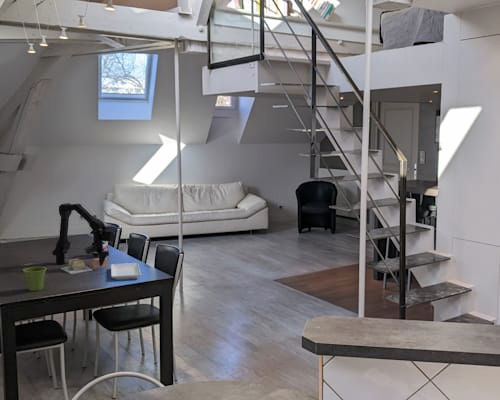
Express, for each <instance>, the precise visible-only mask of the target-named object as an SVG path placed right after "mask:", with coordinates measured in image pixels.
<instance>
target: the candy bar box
mask: <svg viewBox="0 0 500 400" xmlns="http://www.w3.org/2000/svg"><path fill="white" fill-rule="evenodd" d="M103 242H104V244H103V249H104V250H106V251H108V252H109V241H103ZM104 250H103V251H104Z"/></svg>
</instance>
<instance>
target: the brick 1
mask: <svg viewBox="0 0 500 400" xmlns="http://www.w3.org/2000/svg"><path fill="white" fill-rule="evenodd" d="M85 266H86V265H85V260H82V259H81V258H80V257H79V258H72V259H68V267H69V268H71V269H73V270H75V271H76V270H82V269H85Z"/></svg>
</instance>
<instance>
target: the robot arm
mask: <svg viewBox="0 0 500 400" xmlns="http://www.w3.org/2000/svg"><path fill="white" fill-rule="evenodd" d="M73 211H75V212H76V213H77V214H78V215H80V217H81V218H83V219H84V220H85V221H86V222H87V223H88V226H89V228H91V231H90V232H89V234H90V235H92V236H93V237H92V238H93V242H92V243H91V245H89V246H86V247H85V248H84V251H85V254H86V255H92V256H93V259H95V258H99V263H100V266H102V265H103V262H104V260H105V258H107V257H108V256H110V252H109V250H108V251H106V250H104V249H103V244H104V242H103V241H108V243H110V242H114V241H115V234H114V232H113V230H108V229H107V227H106V226H105V224H104V222H103V221H102V220H101V219H99V218H96V217H94V216H93V215H92V214H91V213H90V212H89V211H88V210H87V209H86V208H84V206H82V204H81V203H72V204H71V203H68V202H66V203H62V204H60V205H58V214H59V216H60V223H59V224H60V226H59V227H60V228H59V235H58V236H59V238H58V240H57V242H56V245H55V248H54V250H52V252H51V253H52V256H55V262H53V264H54V265H56V266H57V265H58V266H59V265H65V264H68V262H66V255H65V254H68V251H69V250H70V249H71V241H69V240H68V233H69V220H70V216H71V214H73V213H72V212H73ZM103 250H104V251H103Z"/></svg>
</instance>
